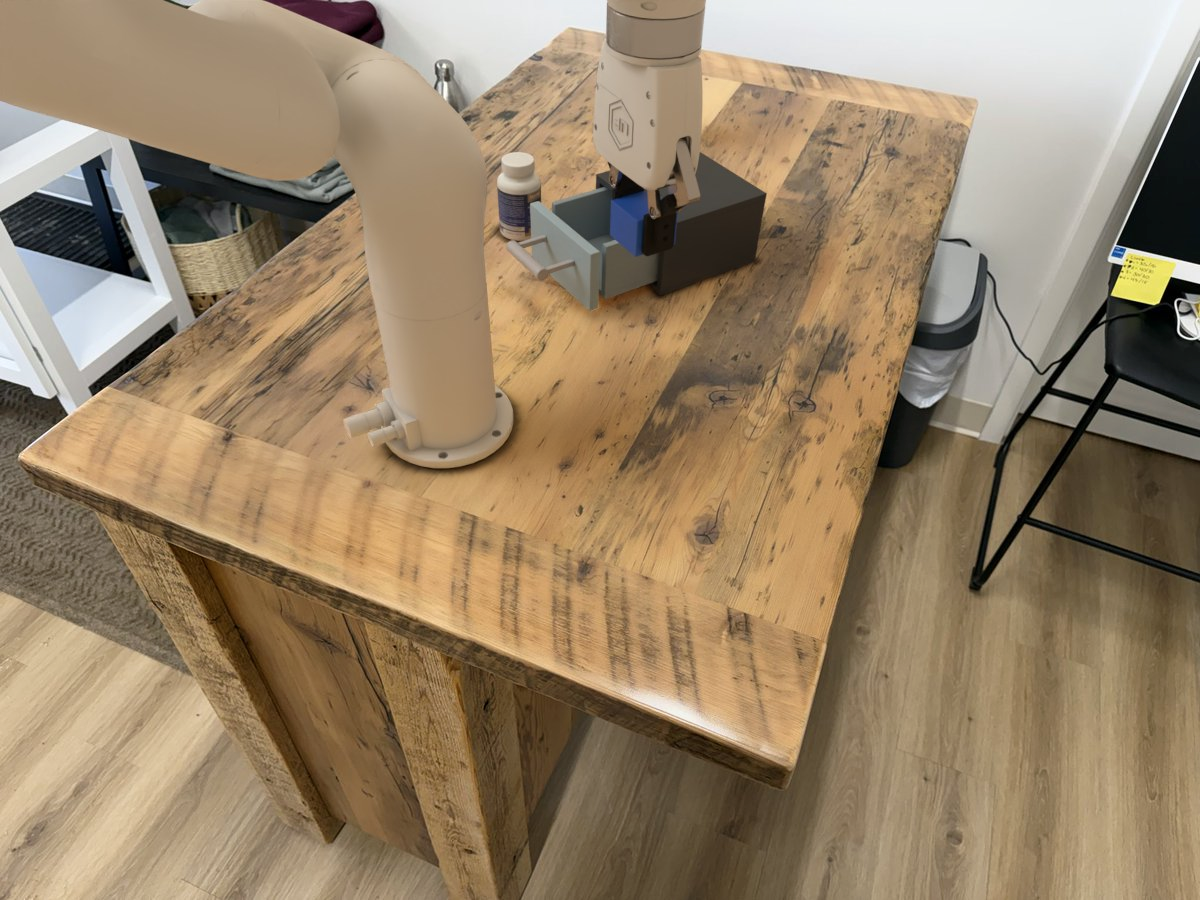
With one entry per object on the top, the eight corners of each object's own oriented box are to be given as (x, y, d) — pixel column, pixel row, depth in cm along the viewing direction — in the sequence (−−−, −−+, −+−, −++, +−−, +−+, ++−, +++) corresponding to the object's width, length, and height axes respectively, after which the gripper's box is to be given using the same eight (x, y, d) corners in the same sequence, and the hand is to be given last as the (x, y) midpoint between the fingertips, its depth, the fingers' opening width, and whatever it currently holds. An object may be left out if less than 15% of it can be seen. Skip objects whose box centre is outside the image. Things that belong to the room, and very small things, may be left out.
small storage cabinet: (660, 296, 98) (666, 226, 92) (594, 241, 106) (595, 174, 100) (754, 261, 104) (766, 193, 98) (685, 212, 112) (692, 146, 106)
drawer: (552, 325, 92) (551, 267, 87) (495, 270, 100) (491, 214, 94) (685, 277, 100) (691, 221, 94) (623, 229, 107) (626, 175, 102)
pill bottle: (536, 244, 106) (533, 171, 99) (494, 239, 106) (489, 166, 99) (546, 223, 109) (545, 151, 103) (506, 218, 110) (502, 146, 103)
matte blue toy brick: (635, 257, 76) (637, 221, 73) (609, 235, 79) (610, 200, 76) (675, 244, 78) (678, 209, 75) (648, 223, 80) (651, 188, 78)
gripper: (558, 5, 69) (561, 209, 82) (677, 75, 59) (659, 295, 72) (635, -8, 72) (626, 190, 85) (761, 56, 62) (729, 270, 74)
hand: (641, 236), depth 78 cm, fingers closed on matte blue toy brick, 4 cm apart
